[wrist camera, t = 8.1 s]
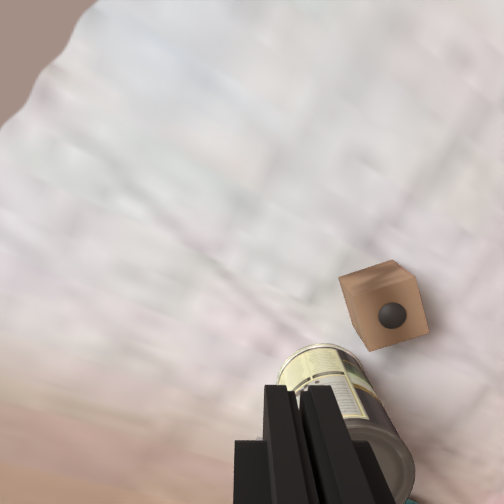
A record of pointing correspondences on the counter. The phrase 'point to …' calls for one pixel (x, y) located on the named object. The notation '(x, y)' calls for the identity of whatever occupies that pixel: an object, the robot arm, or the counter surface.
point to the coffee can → (353, 408)
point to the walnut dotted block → (384, 305)
